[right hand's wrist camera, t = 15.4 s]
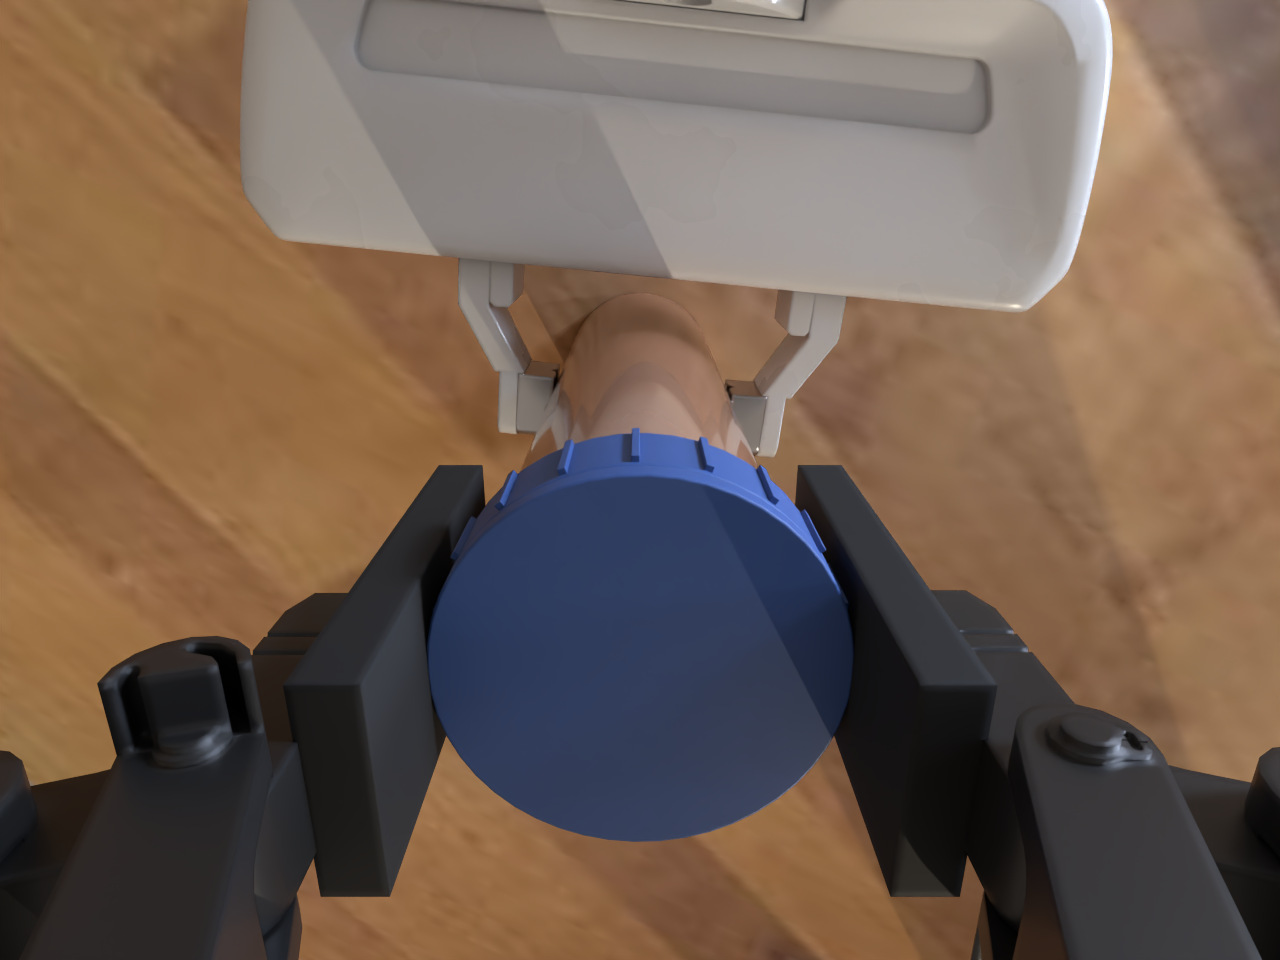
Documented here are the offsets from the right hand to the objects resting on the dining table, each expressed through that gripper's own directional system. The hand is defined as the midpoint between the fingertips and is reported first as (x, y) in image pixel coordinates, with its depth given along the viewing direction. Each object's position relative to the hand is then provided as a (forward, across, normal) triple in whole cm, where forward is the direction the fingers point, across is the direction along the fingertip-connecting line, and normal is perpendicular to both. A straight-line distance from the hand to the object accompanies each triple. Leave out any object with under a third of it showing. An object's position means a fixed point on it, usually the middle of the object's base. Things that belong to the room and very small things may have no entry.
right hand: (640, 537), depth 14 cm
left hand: (+9, 0, -1) cm, 9 cm away
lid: (-4, 0, 0) cm, 4 cm away
